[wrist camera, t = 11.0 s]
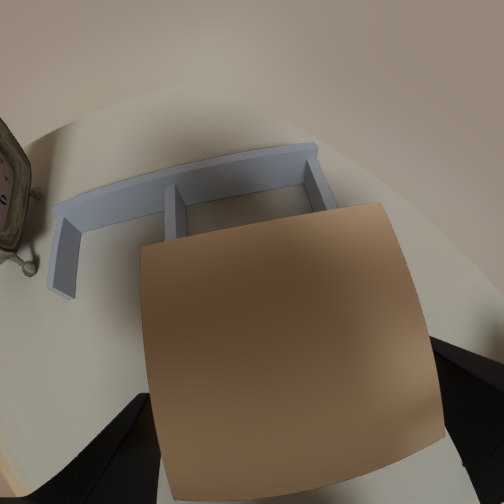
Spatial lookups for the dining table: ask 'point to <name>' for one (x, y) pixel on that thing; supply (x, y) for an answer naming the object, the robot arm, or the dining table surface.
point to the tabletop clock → (14, 197)
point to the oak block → (286, 355)
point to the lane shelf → (180, 198)
